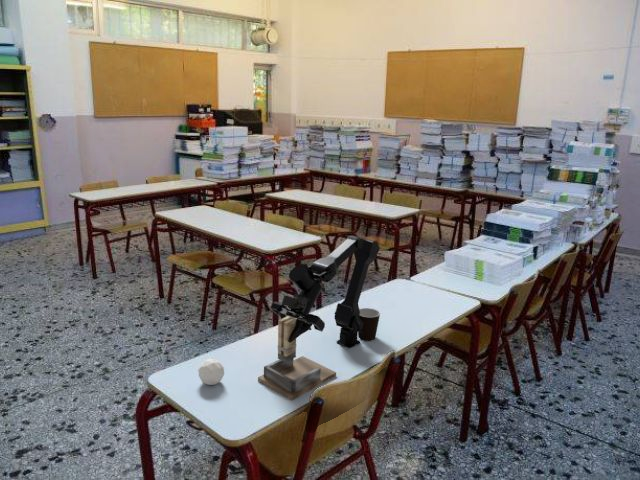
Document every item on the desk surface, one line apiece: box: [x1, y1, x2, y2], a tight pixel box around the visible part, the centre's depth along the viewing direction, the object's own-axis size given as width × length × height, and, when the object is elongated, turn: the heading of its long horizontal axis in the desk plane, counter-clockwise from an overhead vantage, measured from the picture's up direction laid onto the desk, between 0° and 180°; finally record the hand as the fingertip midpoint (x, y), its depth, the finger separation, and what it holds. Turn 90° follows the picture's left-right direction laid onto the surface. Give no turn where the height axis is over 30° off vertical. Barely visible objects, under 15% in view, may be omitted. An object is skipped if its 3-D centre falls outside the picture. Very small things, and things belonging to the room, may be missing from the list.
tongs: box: [277, 316, 297, 362], centre depth 159 cm, size 5×4×13 cm
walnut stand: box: [257, 355, 337, 401], centre depth 162 cm, size 20×15×5 cm
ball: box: [197, 358, 225, 386], centre depth 157 cm, size 8×8×8 cm
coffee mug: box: [357, 307, 381, 342], centre depth 193 cm, size 12×9×10 cm
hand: (284, 340), depth 158 cm, fingers closed on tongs, 3 cm apart
